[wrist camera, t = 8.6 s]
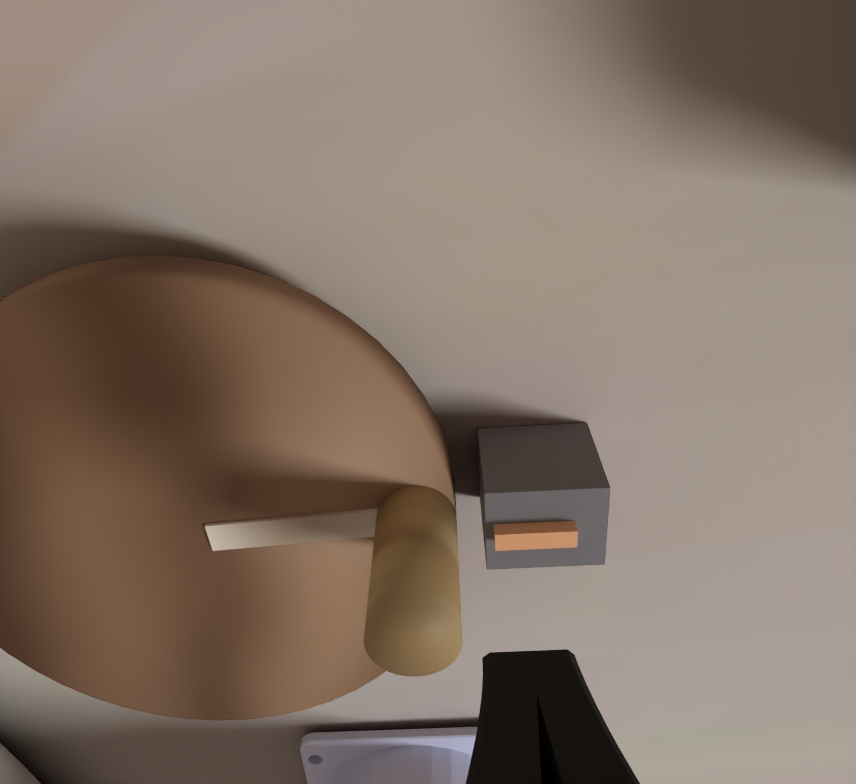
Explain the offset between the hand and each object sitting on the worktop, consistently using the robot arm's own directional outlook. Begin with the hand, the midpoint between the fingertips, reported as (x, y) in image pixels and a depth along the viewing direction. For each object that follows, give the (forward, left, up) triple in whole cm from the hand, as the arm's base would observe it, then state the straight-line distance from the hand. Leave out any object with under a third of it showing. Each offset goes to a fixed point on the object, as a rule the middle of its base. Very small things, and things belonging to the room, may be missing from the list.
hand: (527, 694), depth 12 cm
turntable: (-2, +8, -8) cm, 12 cm away
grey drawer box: (-2, -1, -9) cm, 10 cm away
